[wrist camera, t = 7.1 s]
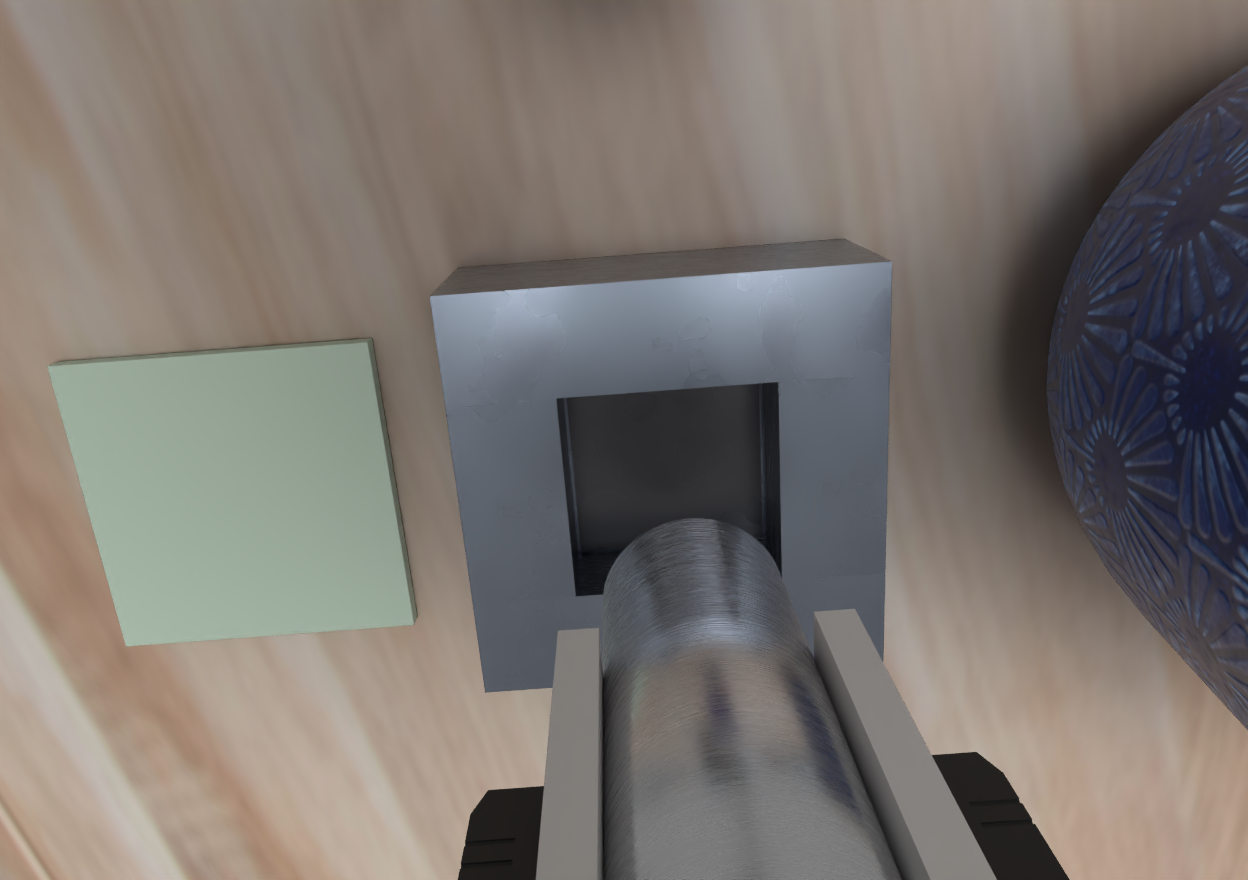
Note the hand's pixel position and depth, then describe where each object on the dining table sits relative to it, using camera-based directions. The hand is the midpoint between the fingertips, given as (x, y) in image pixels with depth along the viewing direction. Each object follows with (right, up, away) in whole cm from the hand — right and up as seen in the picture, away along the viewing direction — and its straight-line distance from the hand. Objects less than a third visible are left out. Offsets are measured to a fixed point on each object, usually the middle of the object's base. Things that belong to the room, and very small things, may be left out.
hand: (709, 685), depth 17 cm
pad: (-14, +3, +14) cm, 20 cm away
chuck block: (0, +5, +13) cm, 14 cm away
